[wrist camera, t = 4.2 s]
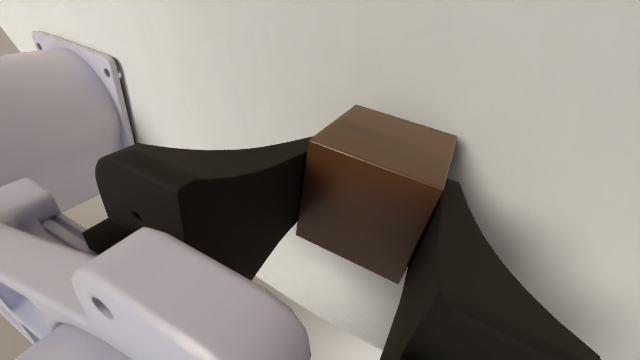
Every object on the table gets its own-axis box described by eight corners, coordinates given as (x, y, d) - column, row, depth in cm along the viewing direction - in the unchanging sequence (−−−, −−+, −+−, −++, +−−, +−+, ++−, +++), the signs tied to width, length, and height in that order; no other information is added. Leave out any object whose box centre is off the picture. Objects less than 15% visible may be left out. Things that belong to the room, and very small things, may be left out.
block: (420, 218, 13) (398, 285, 10) (337, 184, 14) (295, 235, 11) (458, 135, 11) (444, 189, 8) (355, 104, 12) (308, 139, 9)
